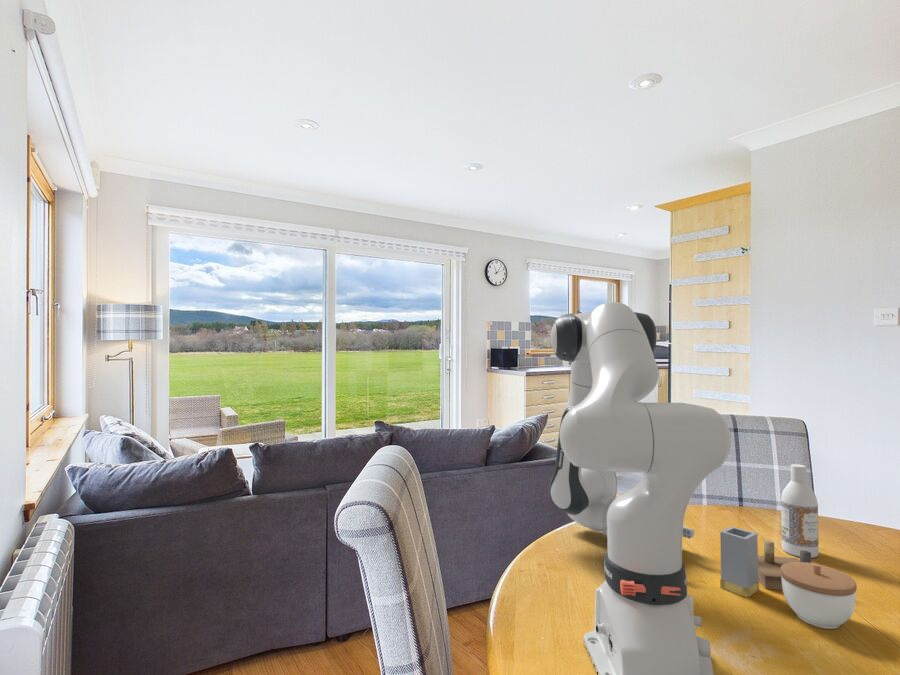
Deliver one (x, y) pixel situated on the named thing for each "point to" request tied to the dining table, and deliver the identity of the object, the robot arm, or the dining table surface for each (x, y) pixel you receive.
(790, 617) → the dining table surface
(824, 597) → the lidded jar
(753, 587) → the sleeve
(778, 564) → the pin block
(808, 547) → the bath foam
